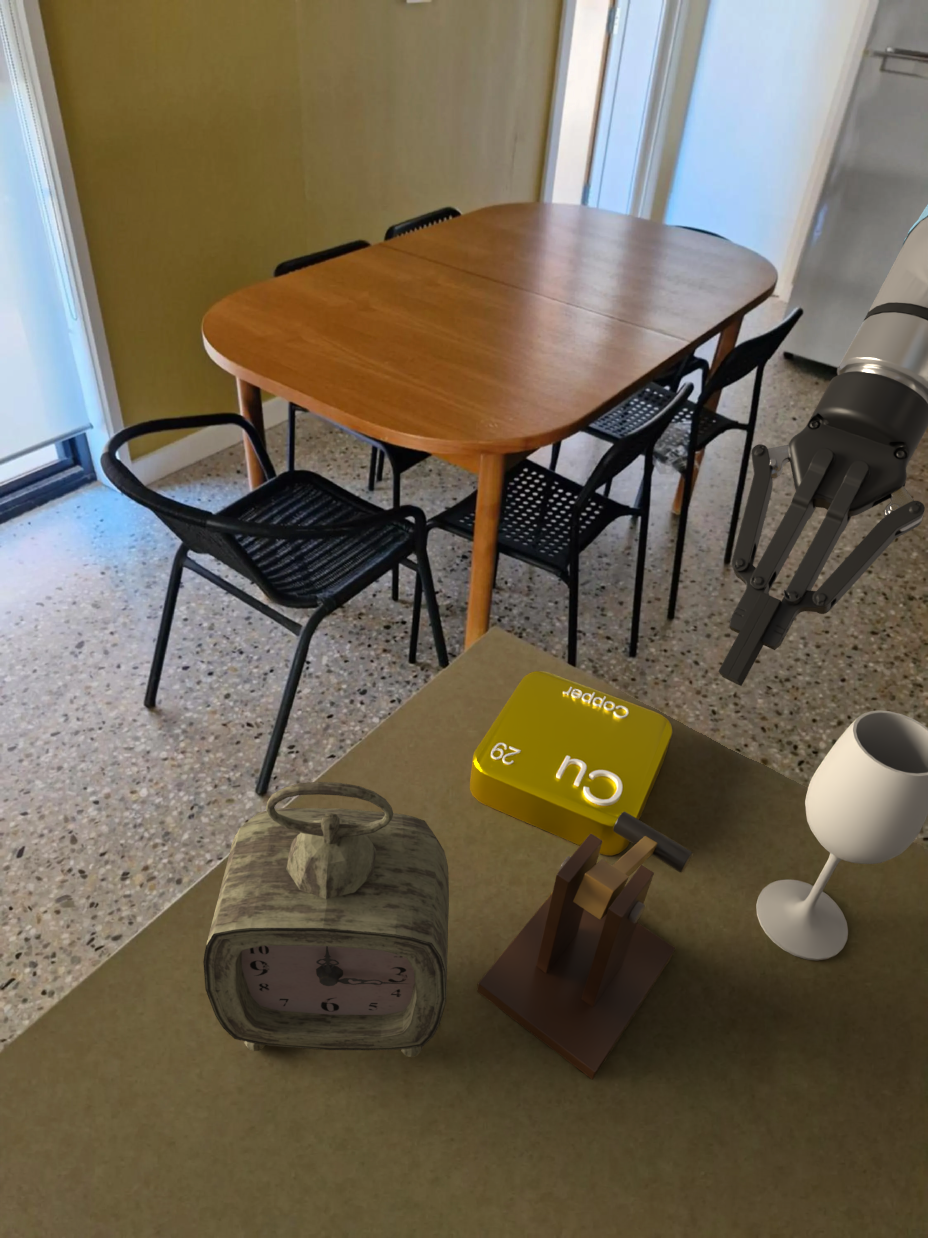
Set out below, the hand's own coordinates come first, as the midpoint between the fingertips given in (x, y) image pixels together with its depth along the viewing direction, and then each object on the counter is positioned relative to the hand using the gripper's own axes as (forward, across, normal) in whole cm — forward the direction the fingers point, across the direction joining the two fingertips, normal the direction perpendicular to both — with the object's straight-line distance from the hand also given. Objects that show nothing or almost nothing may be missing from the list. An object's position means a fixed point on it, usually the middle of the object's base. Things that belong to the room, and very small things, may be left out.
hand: (730, 678), depth 65 cm
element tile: (+13, +11, -15) cm, 23 cm away
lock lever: (+17, 0, 0) cm, 17 cm away
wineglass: (+14, -12, -14) cm, 23 cm away
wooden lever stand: (+25, 0, -3) cm, 25 cm away
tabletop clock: (+34, +12, +6) cm, 37 cm away
